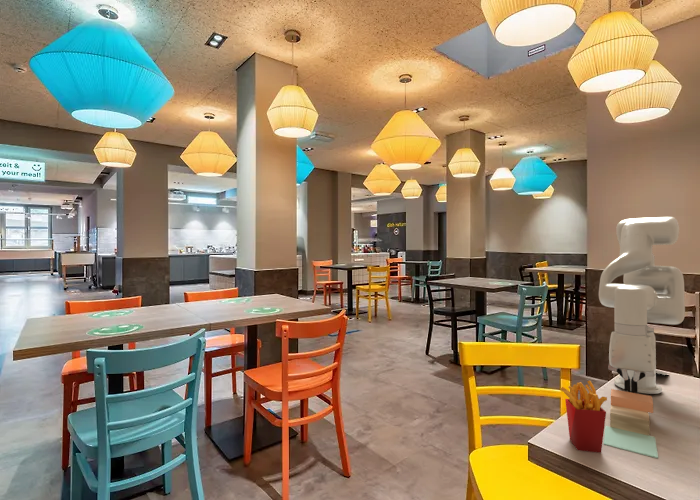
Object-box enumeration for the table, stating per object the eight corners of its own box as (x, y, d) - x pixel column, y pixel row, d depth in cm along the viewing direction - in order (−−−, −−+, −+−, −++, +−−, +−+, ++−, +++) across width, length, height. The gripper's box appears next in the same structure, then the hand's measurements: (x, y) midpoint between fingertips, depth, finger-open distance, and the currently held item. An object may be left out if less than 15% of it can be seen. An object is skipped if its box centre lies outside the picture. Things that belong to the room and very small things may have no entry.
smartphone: (637, 369, 135) (637, 366, 135) (646, 372, 144) (646, 369, 145) (662, 374, 129) (662, 371, 129) (670, 376, 139) (670, 374, 139)
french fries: (607, 456, 84) (607, 389, 84) (567, 452, 86) (567, 386, 86) (590, 436, 93) (590, 376, 93) (554, 433, 94) (554, 374, 94)
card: (611, 397, 107) (611, 388, 107) (651, 405, 101) (651, 396, 101) (610, 404, 102) (610, 395, 102) (653, 413, 96) (653, 403, 96)
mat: (605, 426, 97) (605, 425, 97) (654, 438, 92) (654, 437, 92) (603, 444, 89) (603, 443, 89) (658, 458, 83) (658, 457, 83)
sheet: (611, 406, 110) (611, 393, 110) (646, 413, 105) (646, 399, 105) (610, 428, 97) (610, 412, 97) (649, 437, 92) (649, 420, 92)
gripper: (663, 330, 106) (663, 395, 105) (599, 324, 114) (600, 384, 114) (665, 335, 100) (666, 404, 99) (598, 328, 108) (598, 391, 108)
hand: (630, 393), depth 107 cm, fingers closed
